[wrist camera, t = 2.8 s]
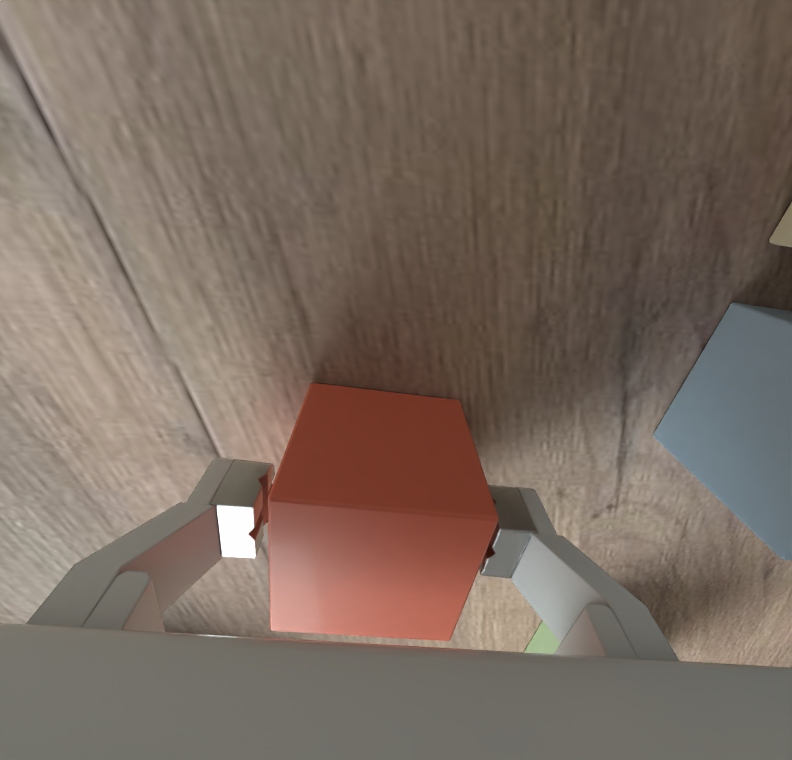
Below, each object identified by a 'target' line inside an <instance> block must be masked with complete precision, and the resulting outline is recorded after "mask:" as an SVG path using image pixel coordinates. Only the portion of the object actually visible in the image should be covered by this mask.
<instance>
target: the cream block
mask: <svg viewBox="0 0 792 760" xmlns="http://www.w3.org/2000/svg"><path fill="white" fill-rule="evenodd" d="M769 243H771V244H774V245H780V246H786V247H792V202H791V204H790V205H789V207H788V209H787V211H786V212H785V214H784V216H783V217H782V219H781V221H780V222H779V224H778V226H777V227H776V229H775V231H774V232H773V234H772V236H771V237H770V239H769Z"/></svg>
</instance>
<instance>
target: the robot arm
mask: <svg viewBox="0 0 792 760" xmlns="http://www.w3.org/2000/svg"><path fill="white" fill-rule="evenodd" d="M274 475H275V473H274V465H273V464H271V463H263V462H255V461H246V460H238V459H236V460H234V459H227V458H219V457H217V458H215V459H214V460H213V461H212V462H211V464H210V465H209V467H208V468H207V470H206V472H205V473H204V475H203V476H202V478H201V480H200V481H199V483H198V484H197V486H196V487H195V489H194V491H193V492H192V494H191V495H190V497H189V499H188V500H187V502H186V503H181V502H180V503H178V504H176V505H175V506H173V507H171V508H169V509H168V510H166V511H164V512H163V513H161V514H159V515H158V516H156V517H154V518H153V519H151V520H149V521H147V522H146V523H144V524H142V525H141V526H139V527H137V528H136V529H134V530H132V531H130V532H129V533H127V534H125V535H124V536H122V537H120V538H119V539H117V540H115V541H113V542H112V543H110V544H108V545H107V546H105V547H103V548H102V549H100V550H98V551H97V552H95V553H93V554H91V555H90V556H88V557H86V558H85V559H83V560H81V561H80V562H78V563H76V564H74V566H73V567H72V568H71V569H70V571H69V572H68V573H67V574H66V575H65V577H64V578H63V579H62V580H61V582H60V583H59V584H58V585H57V586H56V588H55V589H54V590H53V591H52V593H51V594H50V595H49V596H48V597H47V599H46V600H45V601H44V602H43V604H42V605H41V606H40V607H39V608H38V610H37V611H36V612H35V613H34V615H33V616H32V617H31V618H30V619H29V621H28V622H27V623H26V624H13V623H0V760H792V668H791V667H773V666H756V665H738V664H720V663H703V662H685V661H679V659H678V658H677V656H676V654H675V653H674V651H673V649H672V648H671V646H670V644H669V643H668V641H667V640H666V638H665V636H664V635H663V633H662V631H661V630H660V628H659V626H658V625H657V623H656V621H655V620H654V618H653V616H652V615H651V613H650V612H649V610H648V608H647V607H646V605H644V604H643V603H642V602H641V601H640V600H638V599H637V598H636V597H635V596H634V595H633V594H631V593H630V592H629V591H628V590H627V589H625V588H624V587H623V586H622V585H621V584H619V583H618V582H617V581H616V580H615V579H613V578H612V577H611V576H610V575H609V574H607V573H606V572H605V571H604V570H603V569H602V568H600V567H599V566H598V565H597V564H596V563H594V562H593V561H592V560H591V559H590V558H588V557H587V556H586V555H585V554H584V553H582V552H581V551H580V550H579V549H578V548H576V547H575V546H574V545H573V544H572V543H571V542H569V541H568V540H567V539H566V538H565V537H563V536H559V535H557V533H556V531H555V529H554V527H553V525H552V523H551V521H550V519H549V517H548V515H547V513H546V511H545V509H544V507H543V505H542V503H541V501H540V499H539V497H538V495H537V493H536V491H535V490H534V489H533V488H521V487H507V486H496V485H488V487H489V490H490V493H491V496H492V499H493V502H494V505H495V508H496V511H497V514H498V518H499V520H498V523H497V525H496V528H495V530H494V533H493V535H492V538H491V540H490V543H489V545H488V548H487V550H486V553H485V555H484V558H483V560H482V563H481V565H480V567H479V570H480V574H481V575H484V576H493V577H503V578H511V581H512V582H513V584H514V585H515V586H516V587H517V589H518V590H519V591H520V592H521V594H522V595H523V596H524V597H525V599H526V600H527V601H528V603H529V604H530V605H531V606H532V608H533V609H534V610H535V611H536V613H537V614H538V615H539V616H540V618H541V619H542V620H543V622H544V623H545V624H546V625H547V627H548V628H549V629H550V630H551V632H552V633H553V634H554V635H555V637H556V638H557V639H558V641H559V642H560V643H561V644H560V645H559V647H558V648H557V650H556V651H555V653H554V654H544V653H526V652H508V651H490V650H472V649H454V648H436V647H419V646H401V645H383V644H365V643H347V642H330V641H312V640H294V639H276V638H259V637H241V636H224V635H206V634H188V633H171V632H165V628H164V624H163V621H162V617H161V614H162V613H163V612H164V611H165V610H166V609H167V608H168V607H169V606H170V605H171V604H172V603H174V602H175V601H176V600H177V599H178V598H179V597H180V596H181V595H182V594H183V593H184V592H185V591H187V590H188V589H189V588H190V587H191V586H192V585H193V584H194V583H195V582H196V581H197V580H198V579H200V578H201V577H202V576H203V575H204V574H205V573H206V572H207V571H208V570H209V569H210V568H211V567H213V566H214V565H215V564H216V563H217V562H218V561H219V560H220V559H221V557H242V558H256V556H257V553H258V550H259V547H260V544H261V541H262V539H263V525H265V524H266V523H267V522H268V496H269V494H270V491H271V488H272V486H273V484H272V480H273V478H274Z"/></svg>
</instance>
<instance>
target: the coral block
mask: <svg viewBox="0 0 792 760" xmlns="http://www.w3.org/2000/svg"><path fill="white" fill-rule="evenodd" d="M498 520H499V518H498V514H497V511H496V508H495V505H494V502H493V499H492V496H491V493H490V490H489V487H488V484H487V481H486V478H485V475H484V472H483V469H482V466H481V463H480V460H479V457H478V454H477V451H476V448H475V445H474V442H473V439H472V436H471V433H470V430H469V427H468V424H467V421H466V418H465V415H464V412H463V409H462V406H461V403H460V401H459V400H453V399H444V398H436V397H428V396H419V395H411V394H403V393H394V392H386V391H378V390H369V389H361V388H352V387H344V386H336V385H327V384H319V383H311V384H310V387H309V389H308V392H307V395H306V397H305V400H304V403H303V405H302V408H301V411H300V413H299V416H298V419H297V421H296V424H295V427H294V429H293V432H292V435H291V437H290V440H289V443H288V445H287V448H286V451H285V453H284V456H283V459H282V461H281V464H280V467H279V469H278V472H277V475H276V477H275V480H274V483H273V486H272V488H271V491H270V494H269V496H268V536H269V592H270V629H271V630H272V631H285V632H302V633H319V634H337V635H354V636H371V637H388V638H405V639H422V640H439V641H449V640H450V639H451V637H452V634H453V632H454V629H455V627H456V624H457V622H458V619H459V617H460V614H461V612H462V609H463V607H464V605H465V602H466V600H467V597H468V595H469V592H470V590H471V587H472V585H473V582H474V580H475V577H476V575H477V572H478V570H479V567H480V565H481V563H482V560H483V558H484V555H485V553H486V550H487V548H488V545H489V543H490V540H491V538H492V535H493V533H494V530H495V528H496V525H497V523H498Z"/></svg>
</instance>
